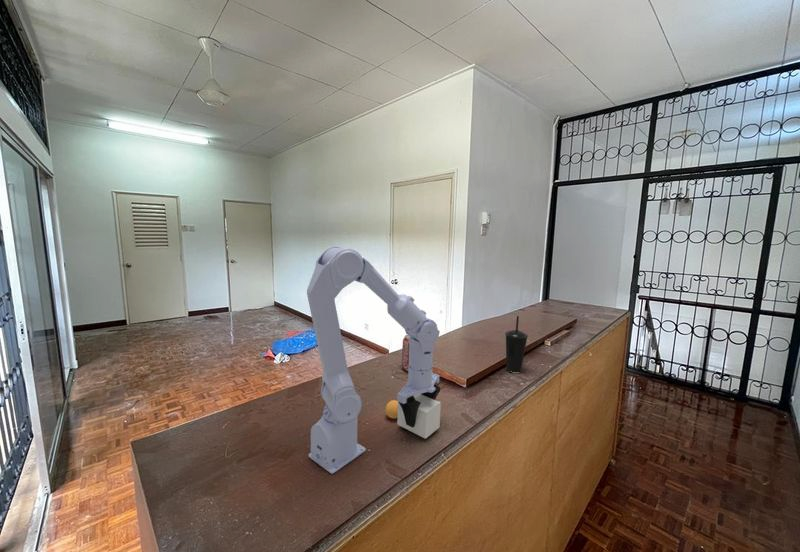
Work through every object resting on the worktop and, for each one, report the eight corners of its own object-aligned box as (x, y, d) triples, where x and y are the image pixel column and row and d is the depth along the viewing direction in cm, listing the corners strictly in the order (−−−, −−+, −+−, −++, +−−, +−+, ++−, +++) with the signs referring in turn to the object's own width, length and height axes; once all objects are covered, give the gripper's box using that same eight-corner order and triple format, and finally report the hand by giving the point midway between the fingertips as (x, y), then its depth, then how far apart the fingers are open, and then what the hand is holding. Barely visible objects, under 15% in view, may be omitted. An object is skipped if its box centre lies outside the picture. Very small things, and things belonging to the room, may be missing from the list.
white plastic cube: (425, 438, 73) (426, 412, 73) (397, 424, 79) (398, 399, 78) (439, 427, 78) (440, 402, 77) (412, 414, 83) (412, 391, 82)
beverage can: (418, 374, 110) (419, 340, 108) (400, 371, 111) (401, 338, 110) (420, 366, 116) (421, 334, 114) (403, 364, 117) (404, 333, 116)
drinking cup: (528, 375, 111) (533, 319, 108) (506, 375, 111) (510, 318, 108) (520, 366, 118) (524, 314, 116) (499, 366, 119) (503, 313, 116)
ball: (394, 424, 80) (395, 407, 80) (381, 417, 83) (382, 401, 82) (405, 416, 84) (406, 401, 83) (392, 410, 86) (393, 395, 86)
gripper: (415, 381, 68) (413, 440, 70) (450, 361, 80) (448, 413, 81) (390, 371, 73) (389, 427, 75) (427, 354, 84) (425, 403, 86)
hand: (418, 419), depth 78 cm, fingers closed on white plastic cube, 6 cm apart
